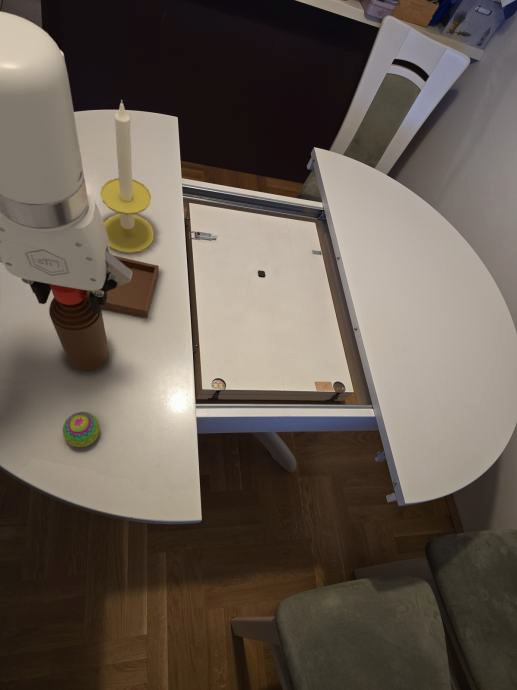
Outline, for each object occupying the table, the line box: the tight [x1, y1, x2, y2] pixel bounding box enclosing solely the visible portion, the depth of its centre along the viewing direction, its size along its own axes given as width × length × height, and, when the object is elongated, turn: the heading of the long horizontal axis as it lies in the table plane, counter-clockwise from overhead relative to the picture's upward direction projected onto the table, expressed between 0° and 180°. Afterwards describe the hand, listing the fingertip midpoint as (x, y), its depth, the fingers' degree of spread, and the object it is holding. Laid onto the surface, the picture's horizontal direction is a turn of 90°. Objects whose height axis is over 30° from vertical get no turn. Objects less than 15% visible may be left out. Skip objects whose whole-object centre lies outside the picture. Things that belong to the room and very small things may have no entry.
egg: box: [62, 411, 101, 448], centre depth 56 cm, size 5×5×6 cm
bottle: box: [48, 291, 110, 372], centre depth 56 cm, size 6×6×20 cm
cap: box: [50, 284, 87, 305], centre depth 48 cm, size 4×4×3 cm
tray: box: [87, 254, 160, 319], centre depth 70 cm, size 13×10×2 cm
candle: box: [100, 99, 155, 254], centre depth 66 cm, size 10×10×27 cm
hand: (72, 298), depth 50 cm, fingers open, 5 cm apart
